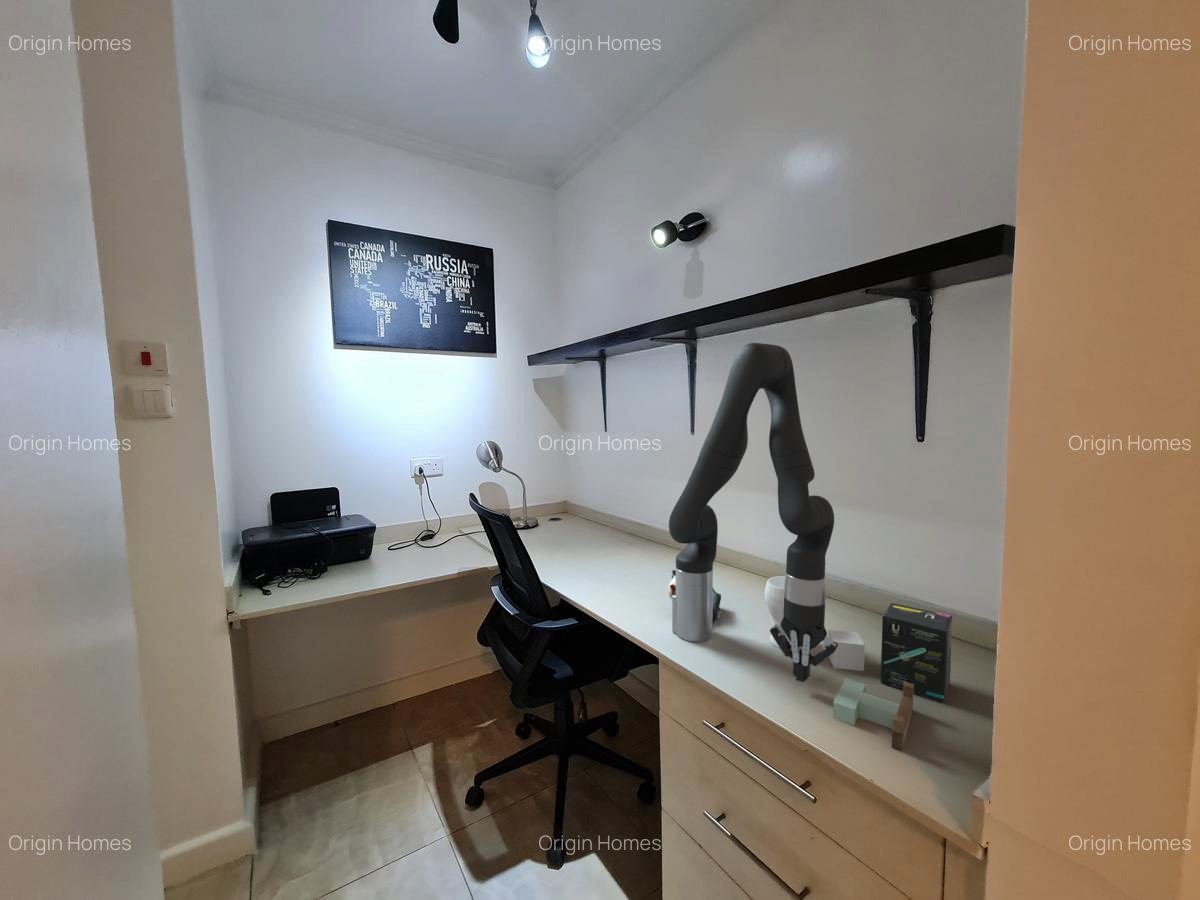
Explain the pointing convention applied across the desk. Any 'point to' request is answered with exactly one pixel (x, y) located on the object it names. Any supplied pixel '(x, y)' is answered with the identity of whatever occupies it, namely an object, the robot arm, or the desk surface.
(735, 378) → the robot arm
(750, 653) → the desk surface
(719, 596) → the lucky cat figurine
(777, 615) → the cup
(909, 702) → the rail
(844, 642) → the white cube piece
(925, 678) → the tampon box
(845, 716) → the t block
